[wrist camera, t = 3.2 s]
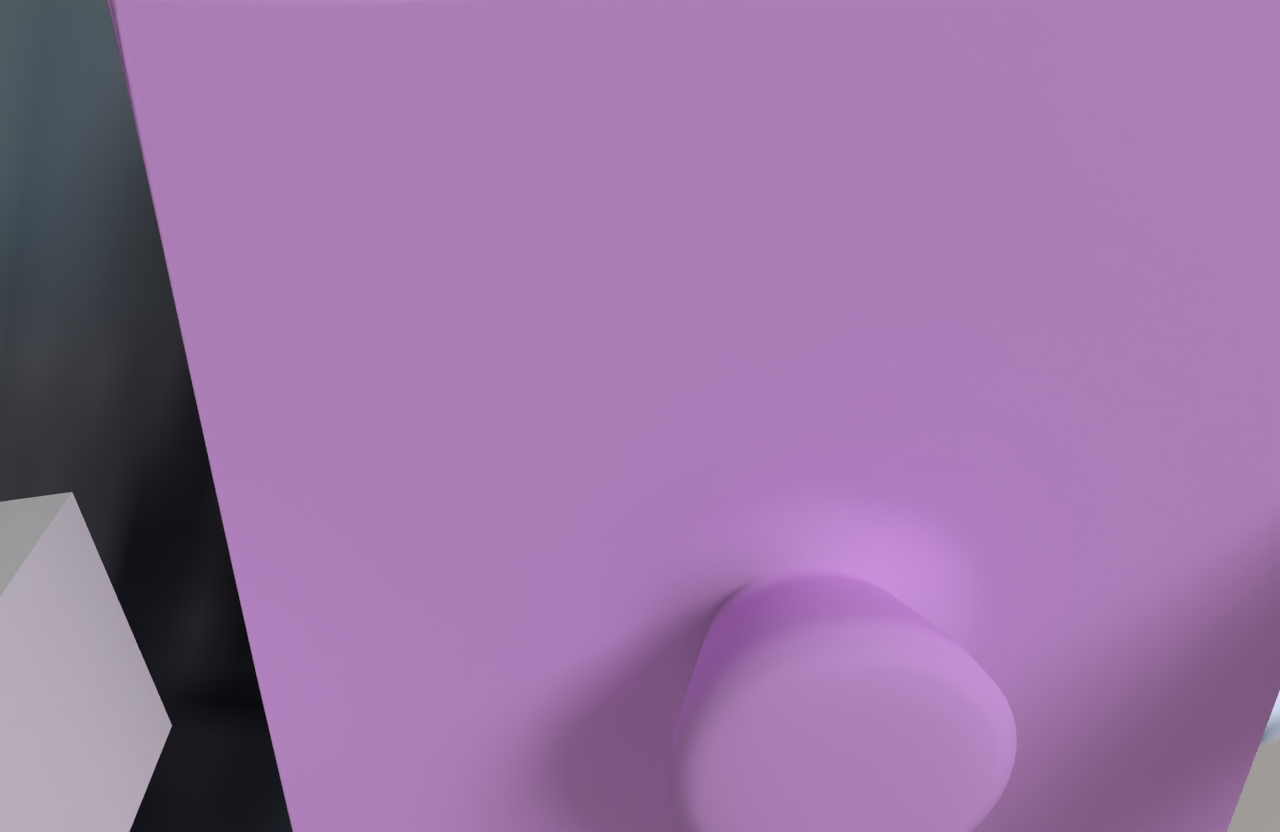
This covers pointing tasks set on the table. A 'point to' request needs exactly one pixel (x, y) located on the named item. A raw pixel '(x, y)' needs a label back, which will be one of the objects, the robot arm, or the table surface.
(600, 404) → the teapot
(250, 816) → the table surface
